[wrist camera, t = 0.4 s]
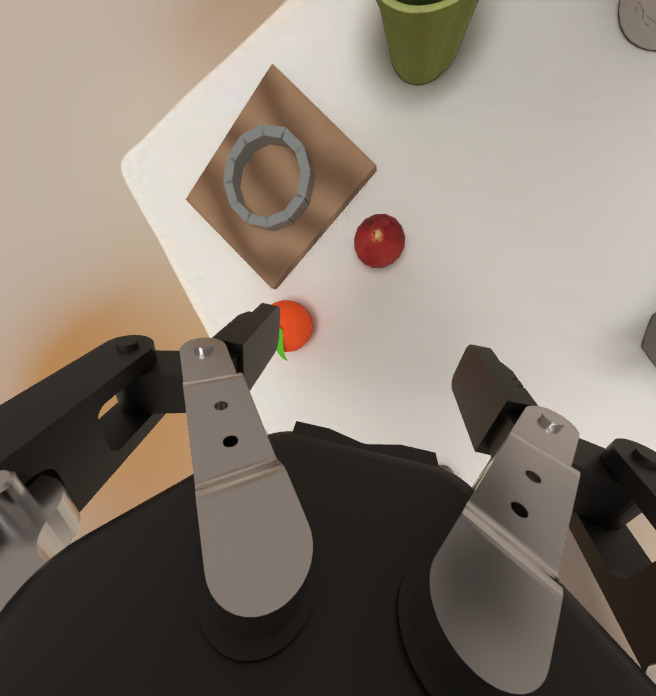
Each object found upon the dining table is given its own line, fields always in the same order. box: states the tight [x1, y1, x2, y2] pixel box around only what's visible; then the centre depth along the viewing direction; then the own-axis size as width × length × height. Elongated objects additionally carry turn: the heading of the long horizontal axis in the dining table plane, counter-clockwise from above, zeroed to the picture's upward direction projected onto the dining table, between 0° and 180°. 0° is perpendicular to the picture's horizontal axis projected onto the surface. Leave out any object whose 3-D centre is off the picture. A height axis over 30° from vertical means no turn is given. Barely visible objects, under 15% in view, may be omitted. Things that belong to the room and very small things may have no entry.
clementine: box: [272, 300, 312, 360], centre depth 37 cm, size 8×7×7 cm
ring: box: [223, 124, 315, 231], centre depth 35 cm, size 11×11×2 cm
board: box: [186, 64, 376, 289], centre depth 36 cm, size 20×18×2 cm
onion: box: [354, 214, 405, 268], centre depth 31 cm, size 6×6×8 cm
